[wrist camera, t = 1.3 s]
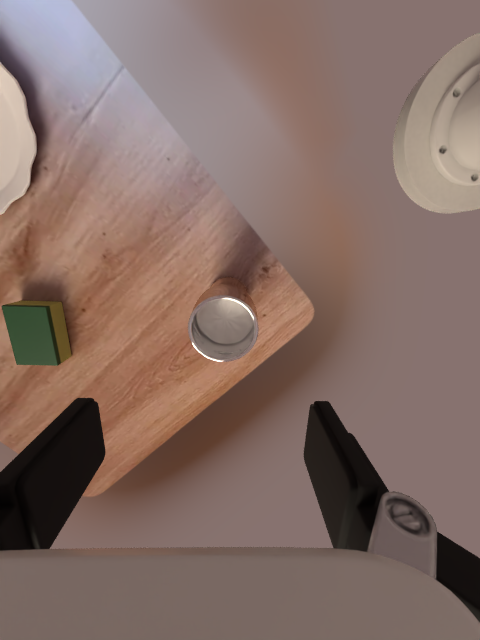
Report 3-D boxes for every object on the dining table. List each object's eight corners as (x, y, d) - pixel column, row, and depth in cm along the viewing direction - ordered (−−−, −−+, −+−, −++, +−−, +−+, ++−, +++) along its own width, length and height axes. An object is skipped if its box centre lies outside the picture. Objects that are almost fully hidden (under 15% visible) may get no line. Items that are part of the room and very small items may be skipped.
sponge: (21, 300, 37) (0, 305, 33) (61, 301, 37) (45, 306, 34) (33, 355, 39) (16, 364, 36) (71, 356, 39) (57, 365, 36)
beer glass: (228, 327, 38) (223, 377, 24) (195, 296, 37) (169, 329, 22) (260, 297, 37) (276, 330, 23) (228, 263, 35) (223, 276, 21)
